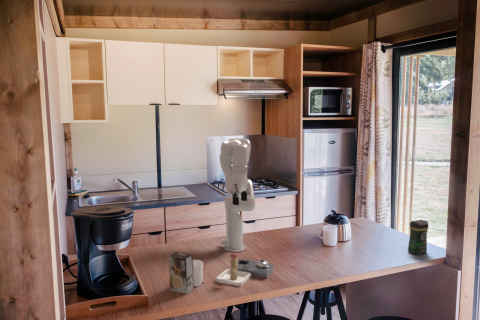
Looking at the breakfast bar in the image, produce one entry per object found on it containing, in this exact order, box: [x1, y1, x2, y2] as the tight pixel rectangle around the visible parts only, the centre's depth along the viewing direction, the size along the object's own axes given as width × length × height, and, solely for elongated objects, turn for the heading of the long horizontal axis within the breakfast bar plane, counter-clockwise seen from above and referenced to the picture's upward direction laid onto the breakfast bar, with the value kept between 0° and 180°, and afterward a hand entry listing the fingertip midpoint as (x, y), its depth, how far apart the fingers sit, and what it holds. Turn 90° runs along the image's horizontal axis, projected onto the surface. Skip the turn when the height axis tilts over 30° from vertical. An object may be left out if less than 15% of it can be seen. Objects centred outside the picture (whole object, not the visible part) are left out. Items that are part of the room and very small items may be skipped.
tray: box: [214, 268, 253, 288], centre depth 191 cm, size 13×13×2 cm
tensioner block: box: [237, 258, 274, 279], centre depth 198 cm, size 18×8×8 cm, turn 65°
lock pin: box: [229, 252, 239, 280], centre depth 190 cm, size 3×3×12 cm
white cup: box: [193, 259, 204, 288], centre depth 187 cm, size 8×8×10 cm
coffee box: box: [168, 251, 194, 295], centre depth 180 cm, size 9×6×16 cm
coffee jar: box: [407, 219, 429, 255], centre depth 227 cm, size 10×8×19 cm
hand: (240, 202), depth 204 cm, fingers open, 9 cm apart
